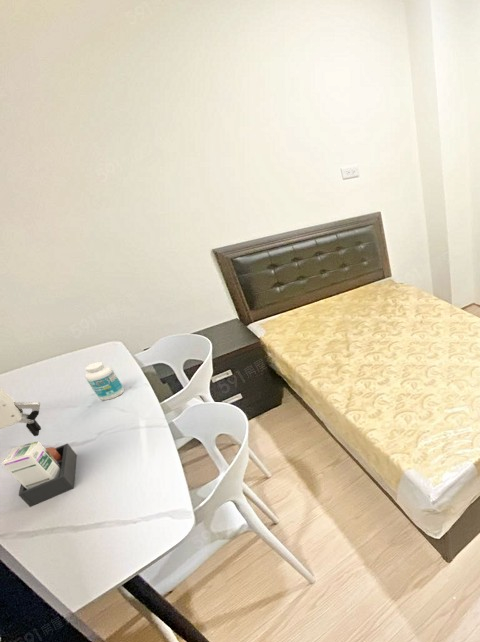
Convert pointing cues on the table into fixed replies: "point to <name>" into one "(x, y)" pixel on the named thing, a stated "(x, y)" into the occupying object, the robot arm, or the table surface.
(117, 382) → the pill bottle
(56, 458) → the orange faceted barrel
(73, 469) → the holder
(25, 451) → the syrup box
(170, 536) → the table surface
